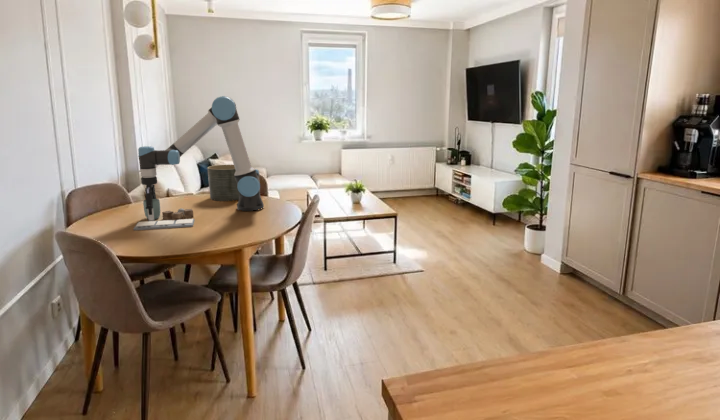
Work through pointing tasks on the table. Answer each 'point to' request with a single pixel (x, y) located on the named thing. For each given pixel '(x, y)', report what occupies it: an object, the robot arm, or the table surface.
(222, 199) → the planter
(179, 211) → the grey ball
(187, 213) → the walnut block
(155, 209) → the cup
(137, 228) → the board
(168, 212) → the walnut block
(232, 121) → the robot arm
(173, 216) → the walnut block
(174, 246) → the table surface
